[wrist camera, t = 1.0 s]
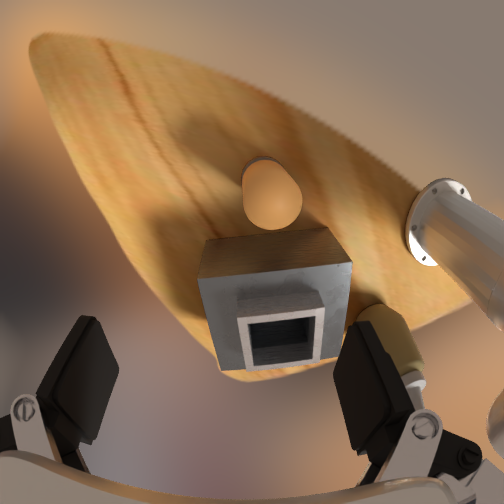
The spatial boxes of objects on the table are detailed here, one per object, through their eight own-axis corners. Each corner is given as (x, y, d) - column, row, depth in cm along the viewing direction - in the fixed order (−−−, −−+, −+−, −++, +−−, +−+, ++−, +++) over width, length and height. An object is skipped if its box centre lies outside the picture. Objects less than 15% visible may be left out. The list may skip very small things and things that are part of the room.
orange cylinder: (283, 154, 27) (301, 170, 19) (285, 195, 29) (303, 227, 21) (239, 158, 27) (239, 175, 19) (243, 199, 29) (245, 233, 21)
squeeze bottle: (348, 303, 36) (398, 411, 20) (398, 291, 36) (460, 383, 20) (346, 342, 40) (382, 439, 24) (391, 330, 40) (437, 417, 24)
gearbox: (328, 227, 31) (362, 276, 22) (323, 314, 37) (344, 372, 28) (206, 240, 31) (193, 295, 22) (223, 325, 37) (220, 387, 28)
